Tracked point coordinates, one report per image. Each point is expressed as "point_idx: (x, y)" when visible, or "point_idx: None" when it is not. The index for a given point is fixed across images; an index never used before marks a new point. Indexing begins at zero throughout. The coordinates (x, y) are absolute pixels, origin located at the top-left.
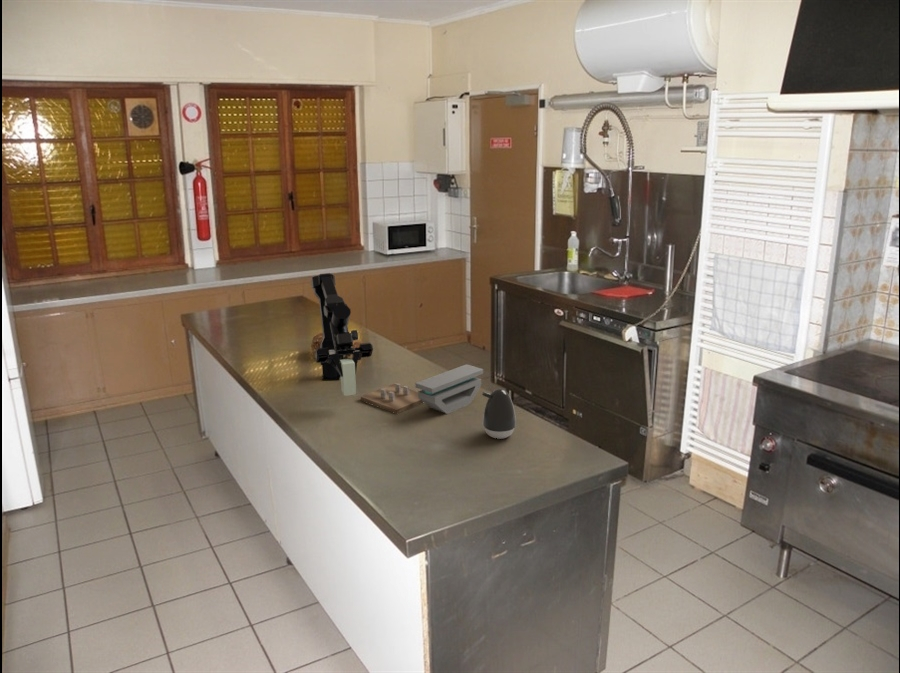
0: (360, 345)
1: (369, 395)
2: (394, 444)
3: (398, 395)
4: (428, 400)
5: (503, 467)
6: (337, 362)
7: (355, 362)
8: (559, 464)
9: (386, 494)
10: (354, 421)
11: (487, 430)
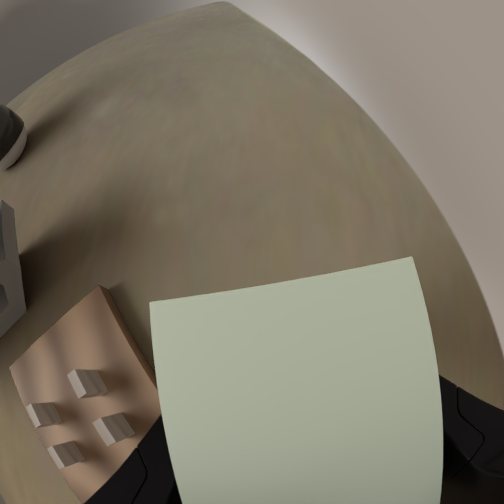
0: None
1: None
2: (175, 108)
3: (75, 421)
4: (13, 227)
5: (72, 78)
6: (479, 426)
7: (151, 469)
8: (29, 96)
9: (231, 23)
10: (267, 253)
11: (24, 130)
